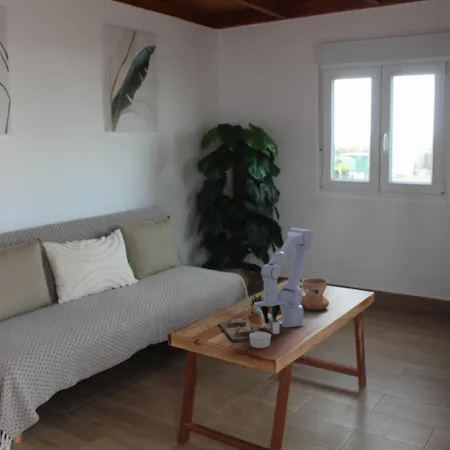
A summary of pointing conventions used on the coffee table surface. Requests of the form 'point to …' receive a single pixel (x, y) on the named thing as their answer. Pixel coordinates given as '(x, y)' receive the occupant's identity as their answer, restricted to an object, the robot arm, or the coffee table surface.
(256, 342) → the ramekin
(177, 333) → the coffee table surface
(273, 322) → the steel bar
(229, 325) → the board
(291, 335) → the coffee table surface
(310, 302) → the clay incense burner
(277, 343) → the coffee table surface
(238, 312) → the coffee table surface
